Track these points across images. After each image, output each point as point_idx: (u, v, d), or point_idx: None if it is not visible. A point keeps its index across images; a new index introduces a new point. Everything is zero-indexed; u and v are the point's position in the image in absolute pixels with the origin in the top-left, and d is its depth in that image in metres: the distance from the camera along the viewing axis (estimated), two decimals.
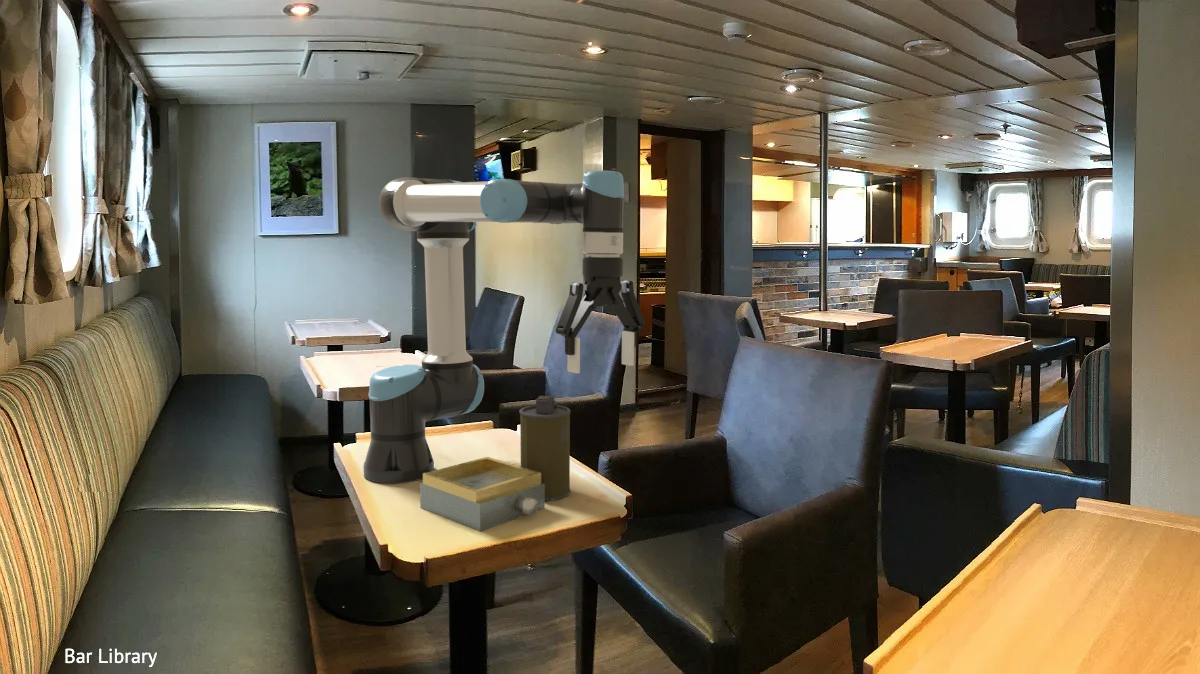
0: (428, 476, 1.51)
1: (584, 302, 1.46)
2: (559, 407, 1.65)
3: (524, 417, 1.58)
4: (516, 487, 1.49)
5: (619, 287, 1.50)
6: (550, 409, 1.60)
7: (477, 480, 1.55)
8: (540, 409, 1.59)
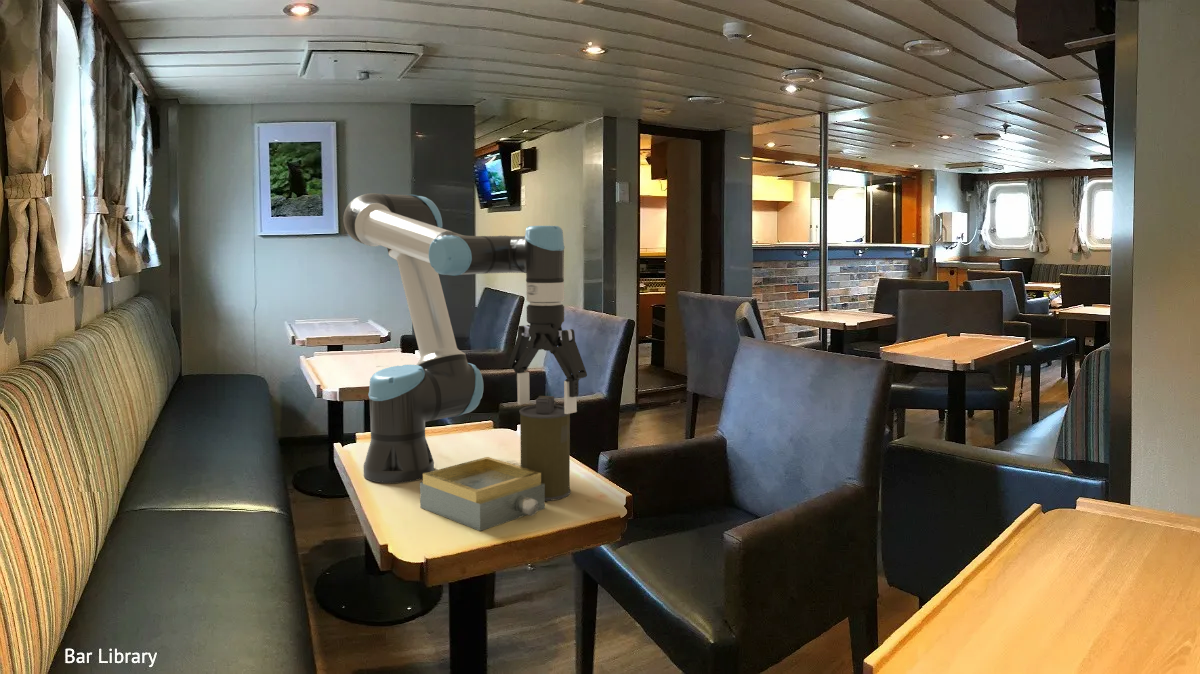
0: (428, 476, 1.51)
1: None
2: (559, 407, 1.65)
3: (524, 417, 1.58)
4: (516, 487, 1.49)
5: (553, 334, 1.56)
6: (550, 409, 1.60)
7: (477, 480, 1.55)
8: (540, 409, 1.59)
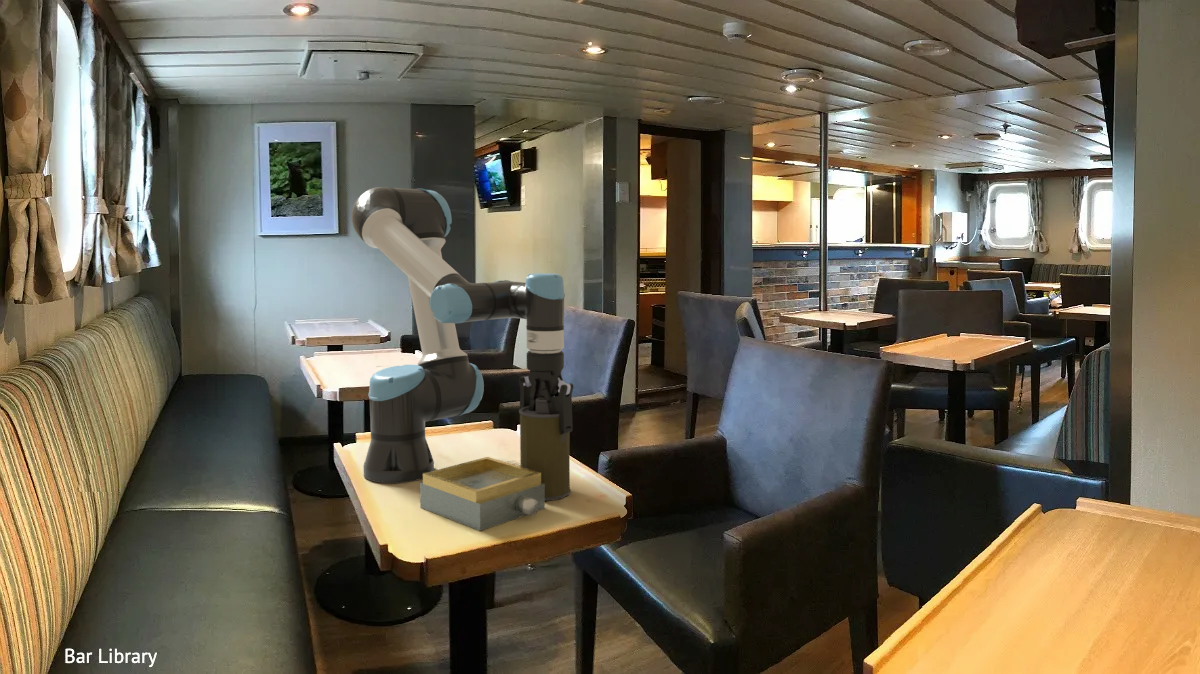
0: (428, 476, 1.51)
1: None
2: None
3: (524, 417, 1.58)
4: (516, 487, 1.49)
5: (552, 382, 1.57)
6: None
7: (477, 480, 1.55)
8: (540, 409, 1.59)
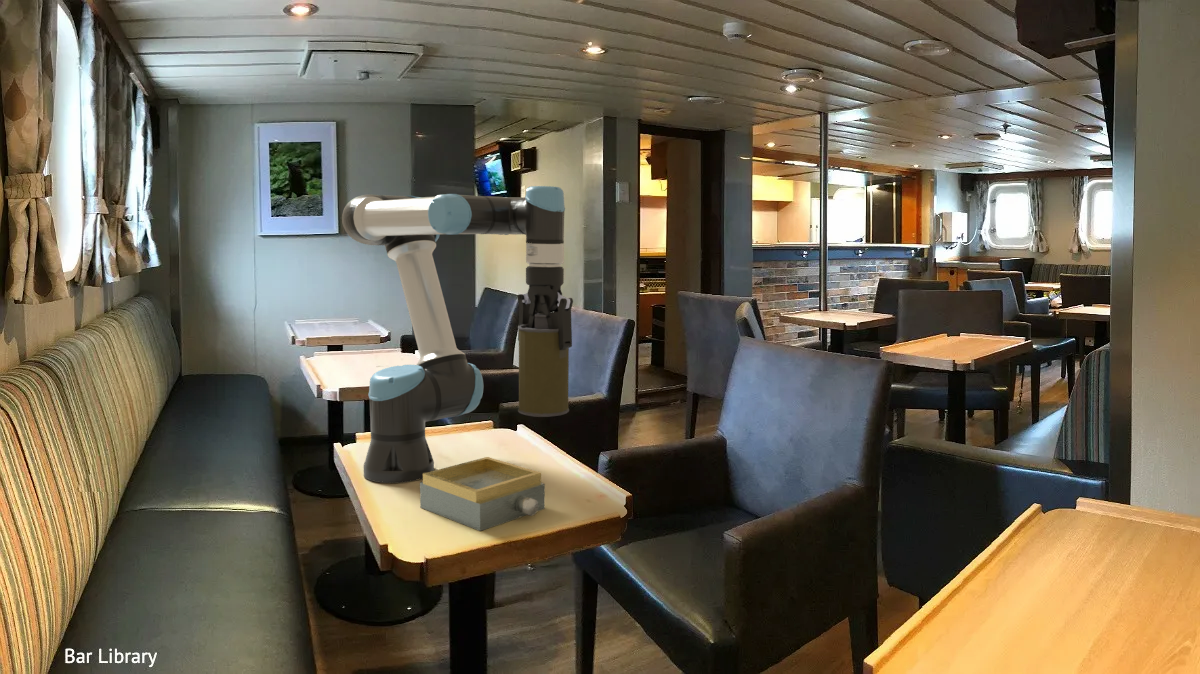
0: (428, 476, 1.51)
1: None
2: None
3: (522, 332, 1.56)
4: (516, 487, 1.49)
5: (552, 297, 1.55)
6: None
7: (477, 480, 1.55)
8: (539, 325, 1.57)
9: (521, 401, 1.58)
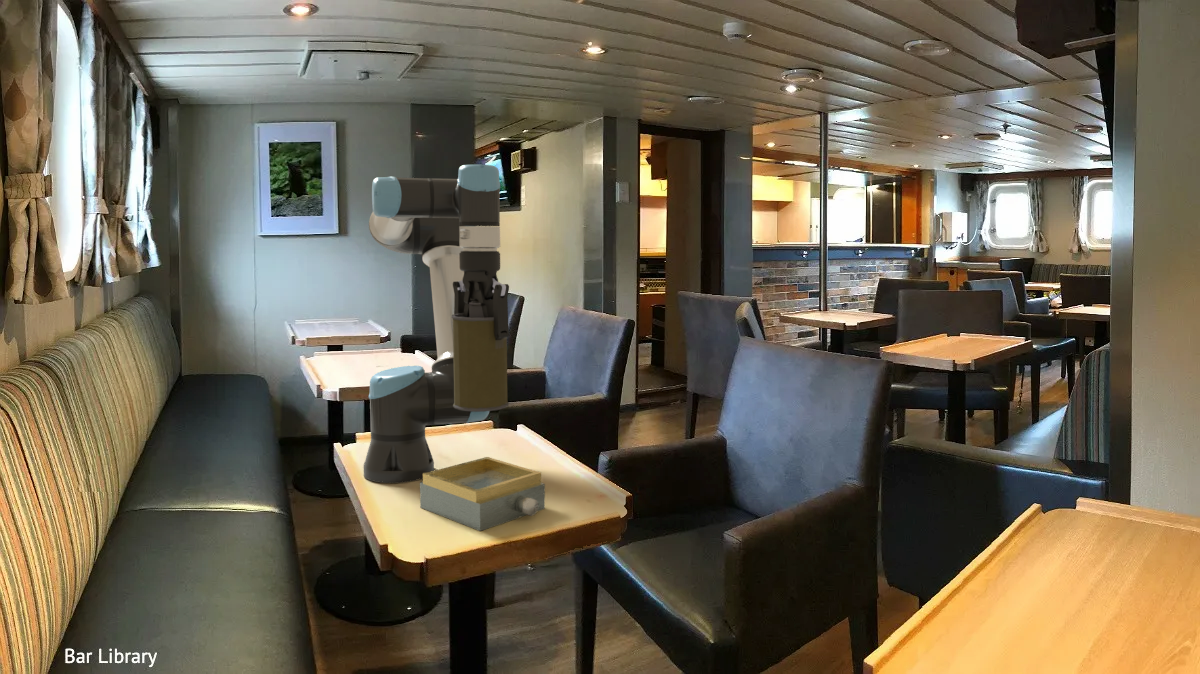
0: (428, 476, 1.51)
1: None
2: None
3: (456, 321, 1.46)
4: (516, 487, 1.49)
5: (486, 283, 1.45)
6: None
7: (477, 480, 1.55)
8: (474, 313, 1.47)
9: (456, 395, 1.48)
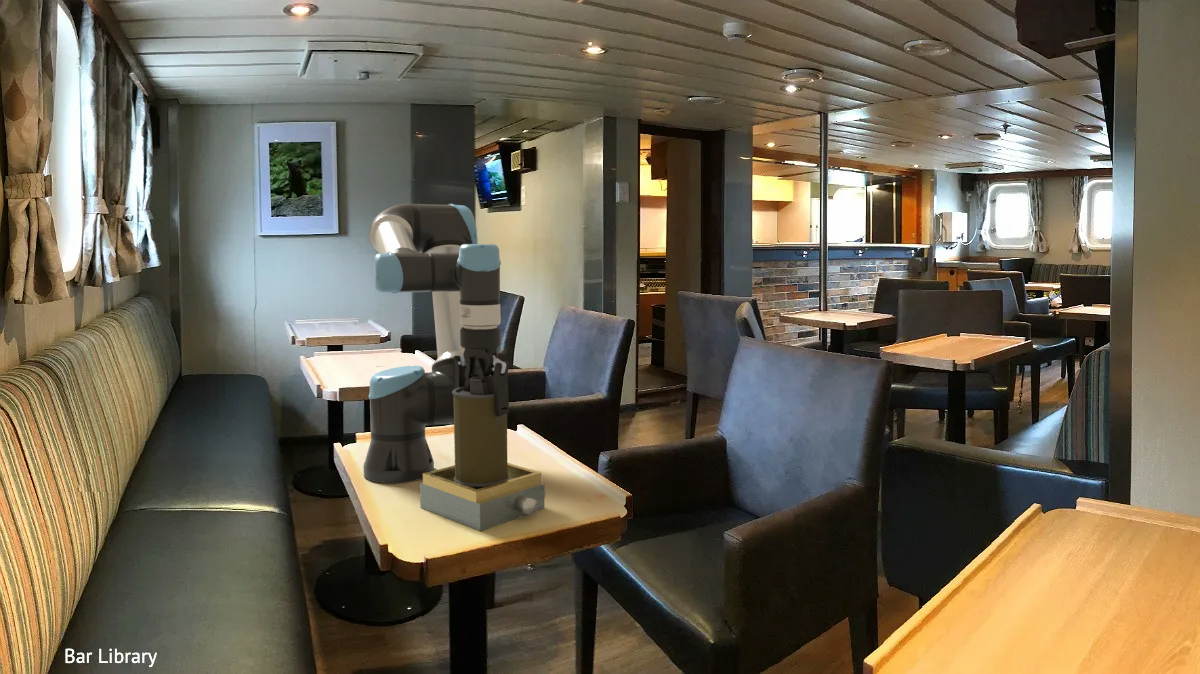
0: (428, 476, 1.51)
1: None
2: None
3: (456, 397, 1.48)
4: (516, 487, 1.49)
5: (487, 360, 1.47)
6: None
7: None
8: (474, 389, 1.49)
9: (457, 469, 1.50)
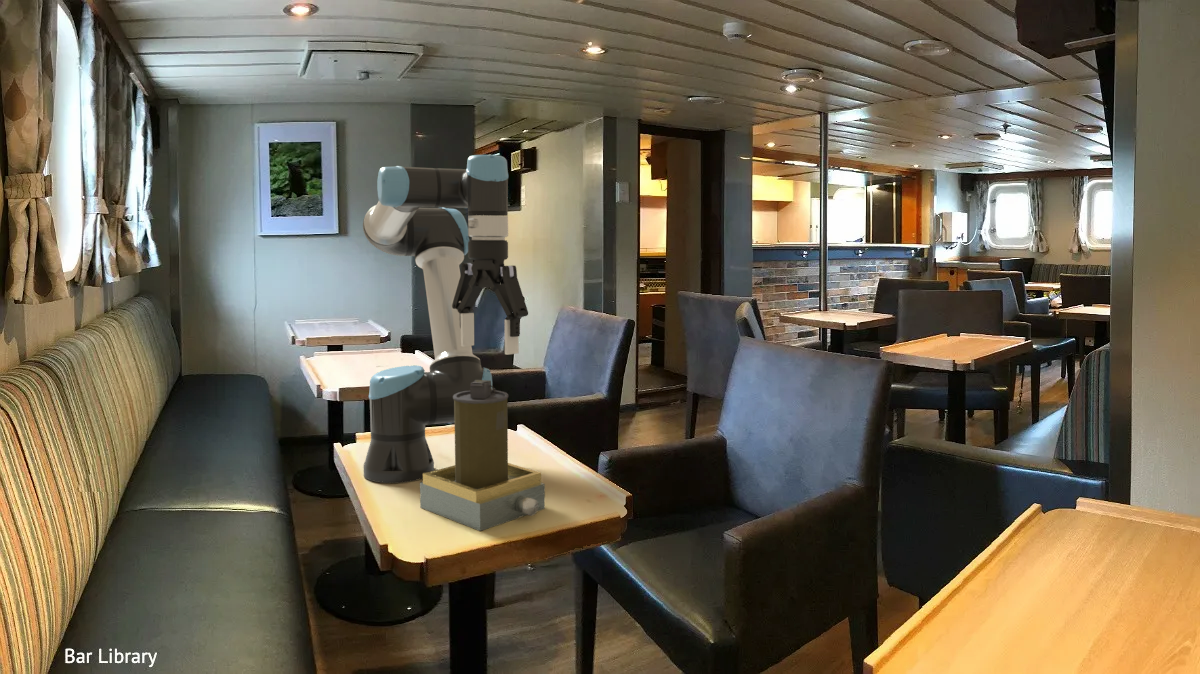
0: (428, 476, 1.51)
1: None
2: (497, 392, 1.54)
3: (457, 402, 1.48)
4: (516, 487, 1.49)
5: (494, 271, 1.48)
6: (486, 394, 1.49)
7: None
8: (475, 394, 1.49)
9: (457, 474, 1.50)
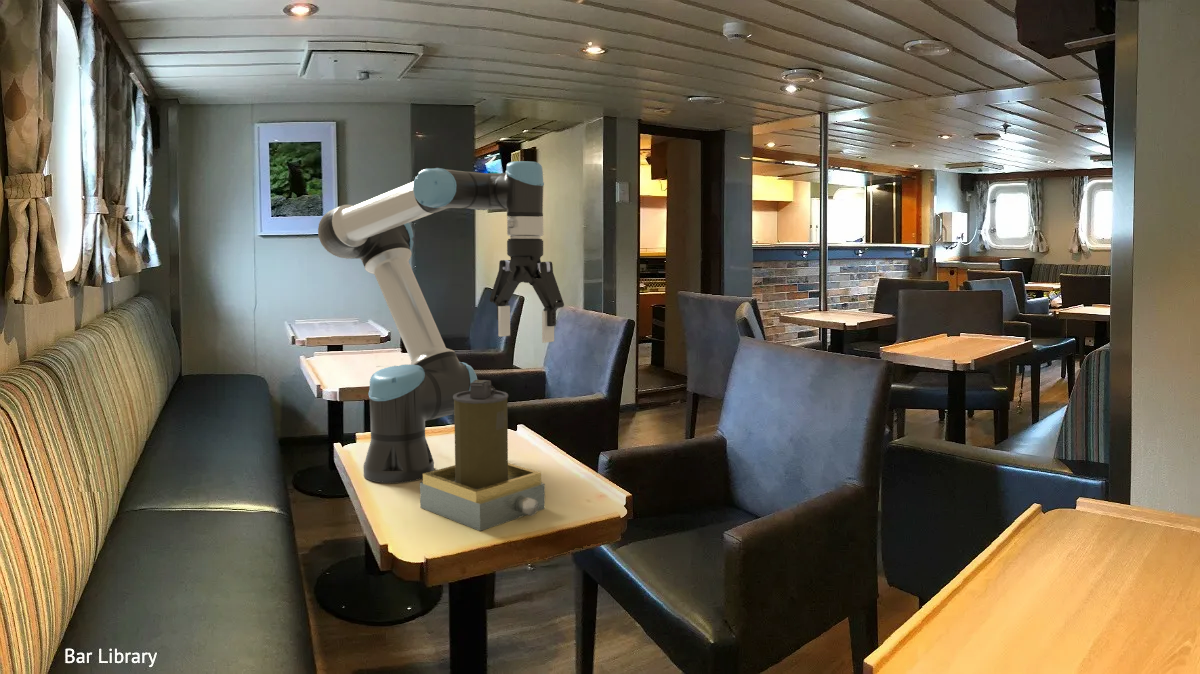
0: (428, 476, 1.51)
1: None
2: (497, 392, 1.54)
3: (457, 402, 1.48)
4: (516, 487, 1.49)
5: (532, 266, 1.63)
6: (486, 394, 1.49)
7: None
8: (475, 394, 1.49)
9: (457, 474, 1.50)
